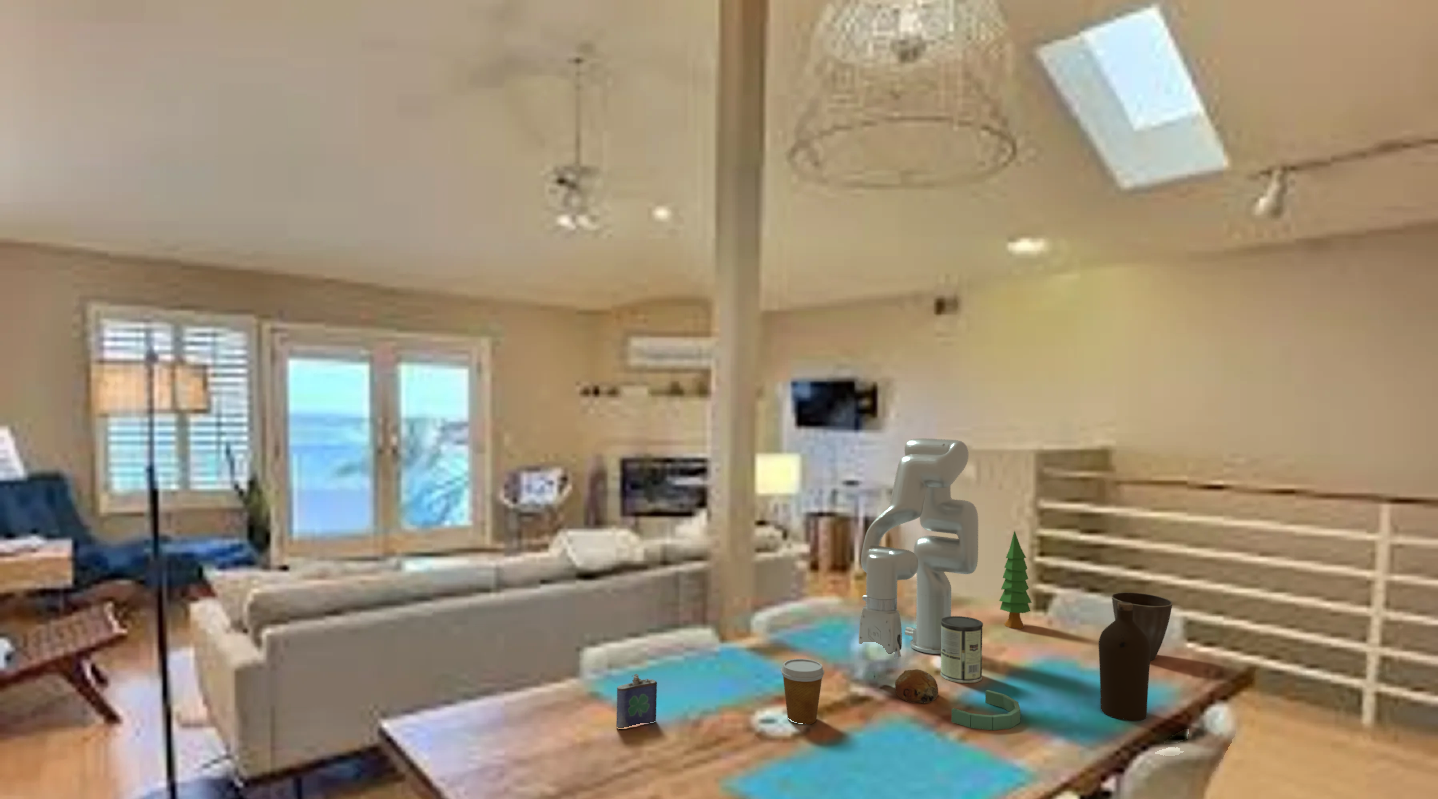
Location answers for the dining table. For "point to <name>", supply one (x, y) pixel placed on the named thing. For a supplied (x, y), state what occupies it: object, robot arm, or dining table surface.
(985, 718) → the segmented green arc
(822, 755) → the dining table surface
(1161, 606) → the plant pot
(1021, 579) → the decorative tree
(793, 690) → the disposable coffee cup
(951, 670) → the coffee can
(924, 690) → the bread roll
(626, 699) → the flask
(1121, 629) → the olive oil
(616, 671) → the dining table surface
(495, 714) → the dining table surface
